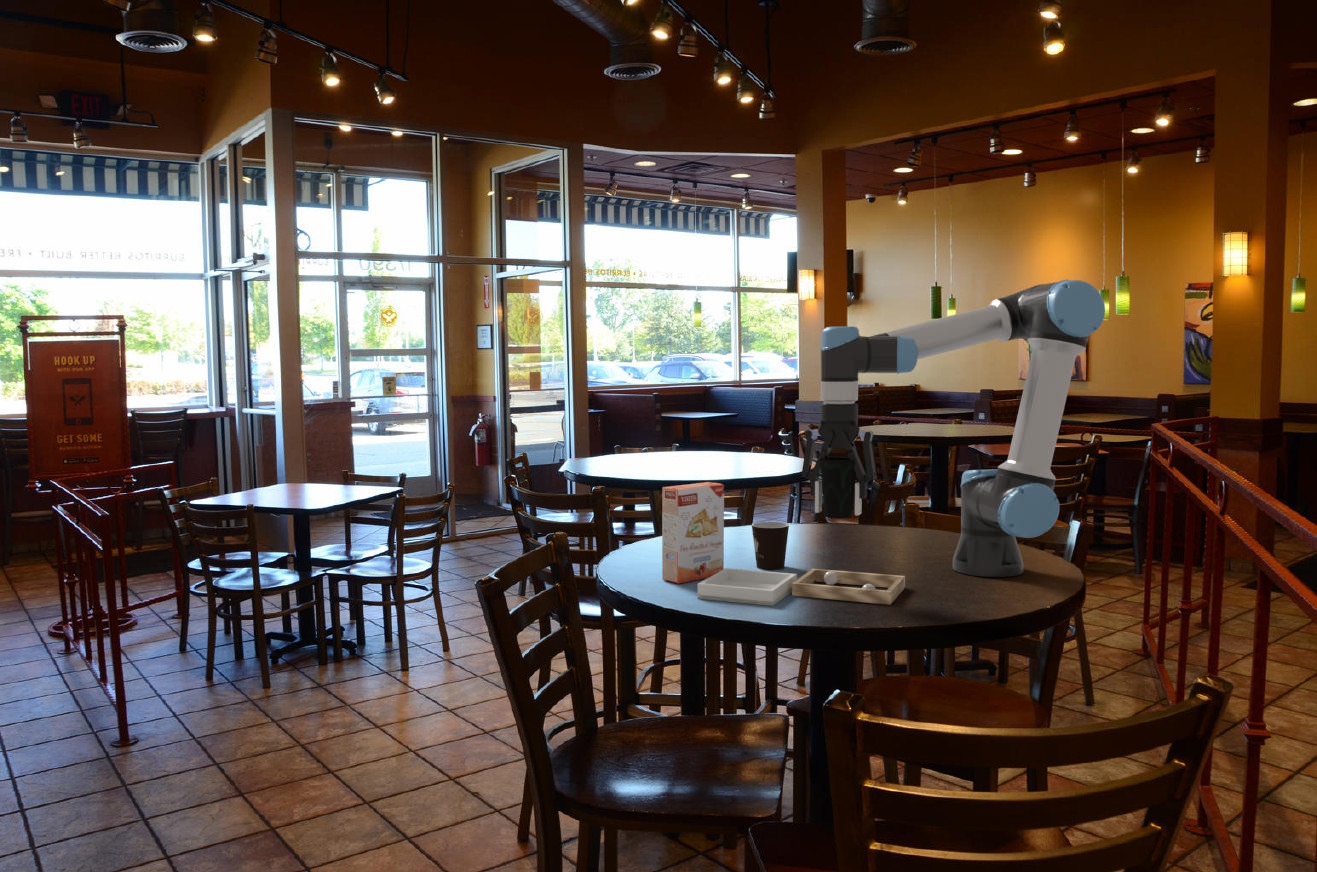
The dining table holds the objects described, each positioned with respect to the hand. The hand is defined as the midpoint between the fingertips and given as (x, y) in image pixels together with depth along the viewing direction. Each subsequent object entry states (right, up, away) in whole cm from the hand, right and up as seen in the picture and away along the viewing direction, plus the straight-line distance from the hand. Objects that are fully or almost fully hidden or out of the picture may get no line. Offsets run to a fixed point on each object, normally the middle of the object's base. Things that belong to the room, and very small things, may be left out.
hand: (838, 512), depth 196 cm
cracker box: (-29, -16, +16) cm, 37 cm away
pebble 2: (+5, -17, -5) cm, 18 cm away
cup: (0, -1, 0) cm, 1 cm away
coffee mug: (-11, -15, +27) cm, 33 cm away
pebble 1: (0, -16, +7) cm, 18 cm away
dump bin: (-18, -17, +1) cm, 25 cm away
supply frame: (+3, -16, +1) cm, 17 cm away
